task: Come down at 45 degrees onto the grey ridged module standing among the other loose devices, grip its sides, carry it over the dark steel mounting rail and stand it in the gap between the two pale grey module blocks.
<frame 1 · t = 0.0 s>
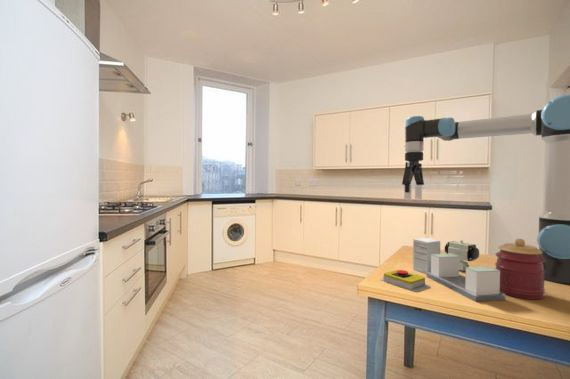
hand: (413, 199, 136), 28 cm above the table, tool pointing down, fingers open, 13 cm apart
canister: (518, 293, 99), on the table
pneumatic valve: (460, 270, 124), on the table
mounting rail: (461, 287, 103), on the table
grey module pair: (462, 272, 103), point 5 cm above the table
grey ridged module: (426, 271, 122), on the table
emergency button: (404, 285, 107), on the table
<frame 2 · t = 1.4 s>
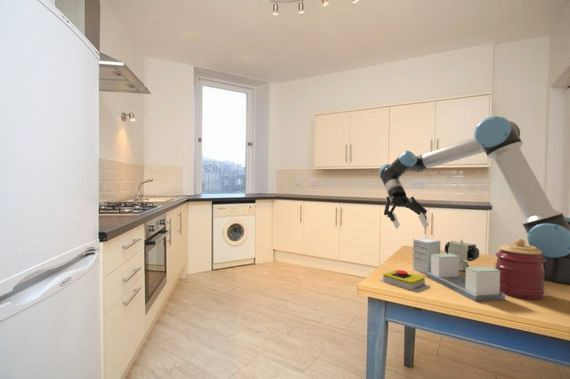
hand: (412, 226, 132), 16 cm above the table, tool tilted 45°, fingers open, 13 cm apart
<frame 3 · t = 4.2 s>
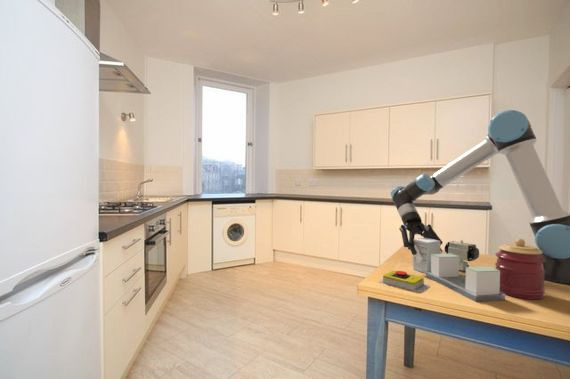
hand: (431, 261, 119), 5 cm above the table, tool tilted 45°, fingers closed on grey ridged module, 9 cm apart
grey ridged module: (426, 271, 122), on the table, touching gripper
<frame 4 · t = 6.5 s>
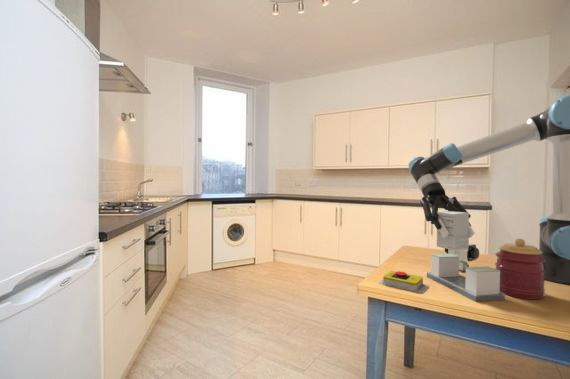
hand: (459, 235, 104), 18 cm above the table, tool tilted 45°, fingers closed on grey ridged module, 9 cm apart
grey ridged module: (452, 248, 107), point 13 cm above the table, touching gripper
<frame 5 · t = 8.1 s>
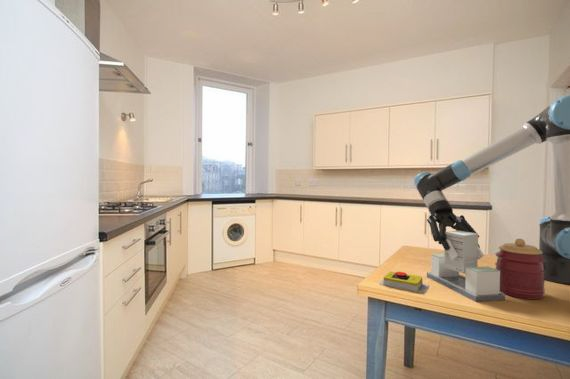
hand: (467, 257, 100), 11 cm above the table, tool tilted 45°, fingers closed on grey ridged module, 9 cm apart
grey ridged module: (460, 269, 104), point 6 cm above the table, touching gripper
when the fingers open (8 cm above the table, at t = 9.2 s): grey ridged module stays where it is, resting on mounting rail.
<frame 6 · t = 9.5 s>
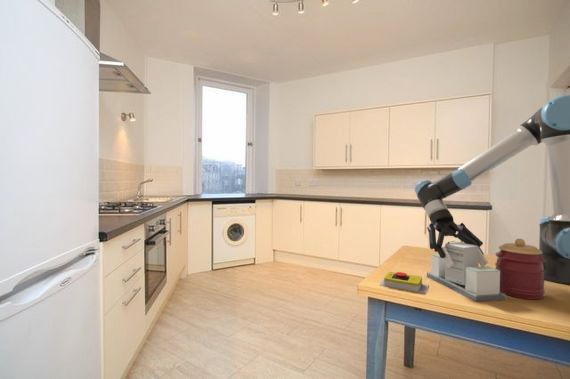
hand: (467, 265, 101), 8 cm above the table, tool tilted 45°, fingers open, 12 cm apart
grey ridged module: (461, 282, 103), point 2 cm above the table, touching mounting rail
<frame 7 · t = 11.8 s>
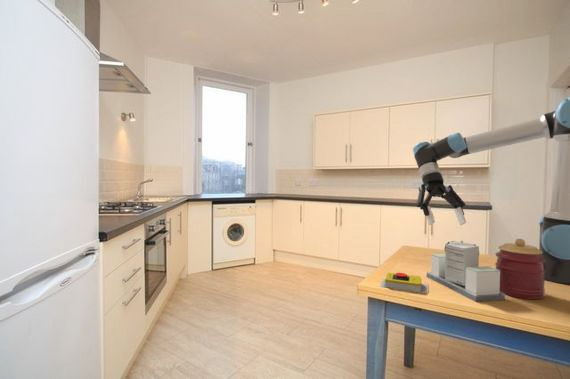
hand: (447, 223, 115), 20 cm above the table, tool tilted 30°, fingers open, 13 cm apart
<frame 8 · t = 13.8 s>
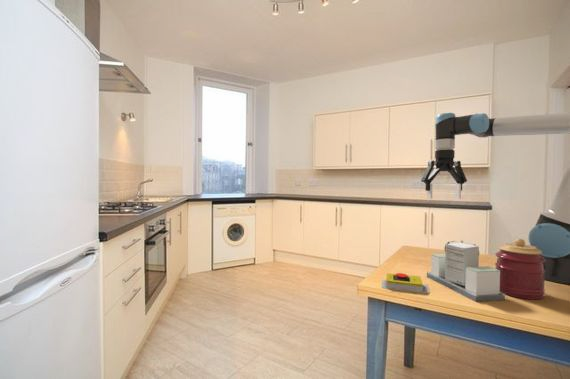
hand: (443, 198, 132), 29 cm above the table, tool pointing down, fingers open, 13 cm apart
at the end: grey ridged module 0.2 cm from the mounting rail (horizontally); grey ridged module tilted 0°; grey ridged module point 1.7 cm above the table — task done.
